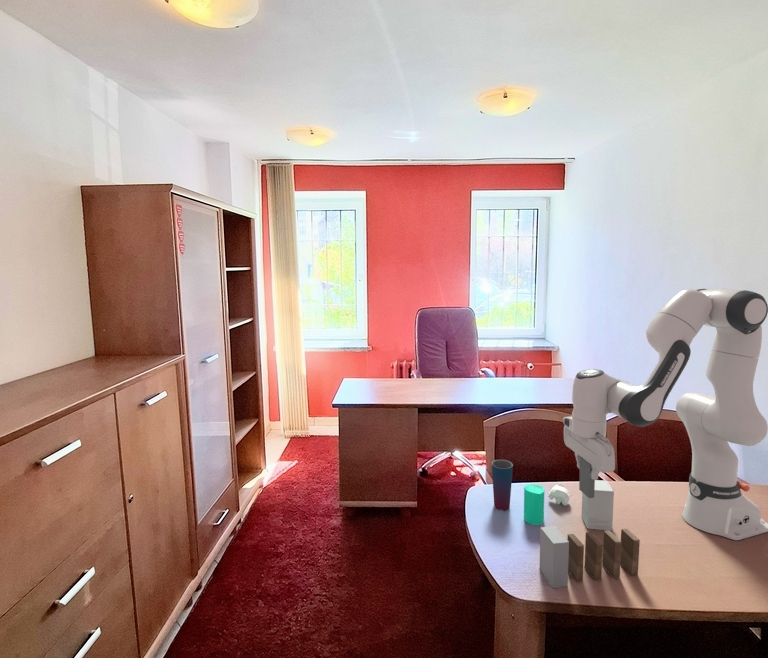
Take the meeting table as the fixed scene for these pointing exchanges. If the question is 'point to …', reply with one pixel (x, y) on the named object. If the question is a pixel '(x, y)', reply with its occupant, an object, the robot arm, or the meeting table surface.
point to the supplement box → (599, 507)
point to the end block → (554, 556)
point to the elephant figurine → (559, 494)
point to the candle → (534, 504)
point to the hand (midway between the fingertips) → (587, 473)
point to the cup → (502, 483)
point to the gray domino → (586, 479)
